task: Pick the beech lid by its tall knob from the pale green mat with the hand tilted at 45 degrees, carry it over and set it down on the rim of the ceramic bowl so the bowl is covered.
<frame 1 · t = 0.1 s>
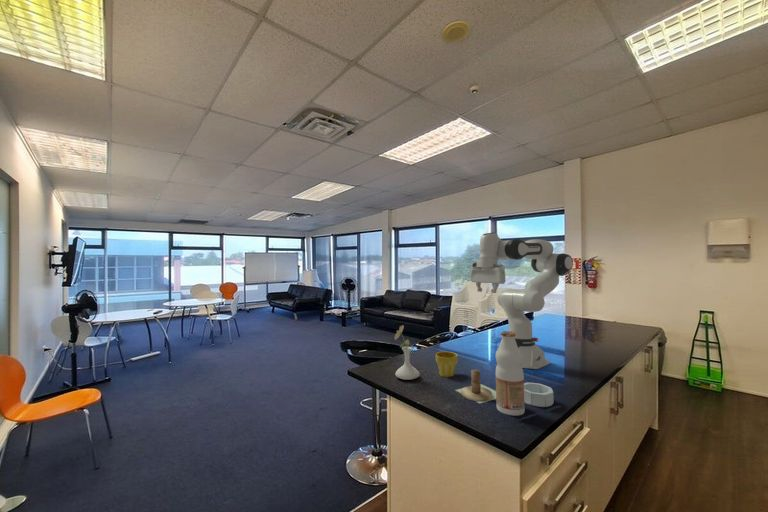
hand: (486, 292, 151), 39 cm above the worktop, tool pointing down, fingers open, 8 cm apart
mat: (480, 394, 123), on the worktop
fruit juice: (510, 411, 109), on the worktop
plant pot: (447, 375, 146), on the worktop
flower in vase: (406, 378, 143), on the worktop
lid: (476, 394, 122), point 1 cm above the worktop, touching mat
bowl: (536, 401, 116), on the worktop
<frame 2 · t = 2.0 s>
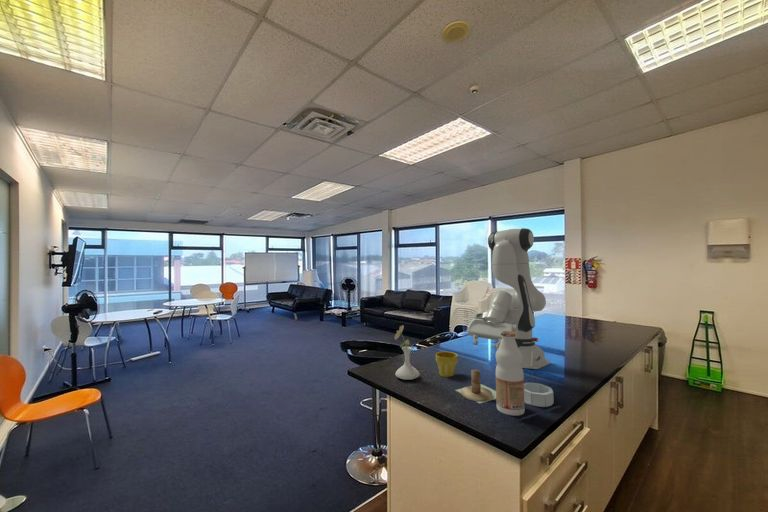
hand: (485, 346, 131), 17 cm above the worktop, tool tilted 45°, fingers open, 8 cm apart
nothing on the worktop moved.
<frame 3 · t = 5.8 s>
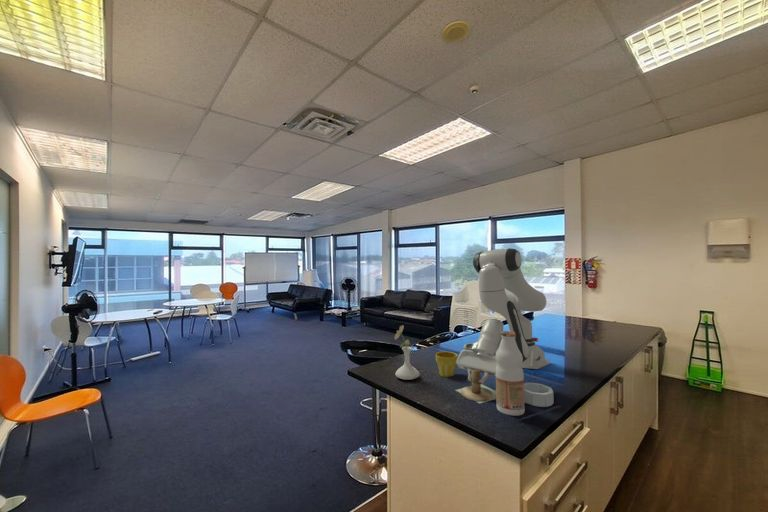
hand: (475, 381, 122), 6 cm above the worktop, tool tilted 45°, fingers closed on lid, 3 cm apart
lid: (476, 394, 122), point 1 cm above the worktop, touching gripper, mat
everything else where it was.
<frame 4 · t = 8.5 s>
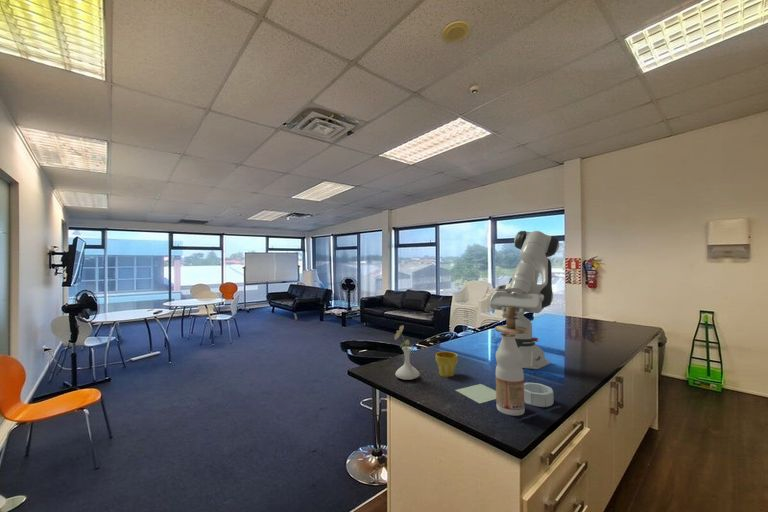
hand: (510, 317, 123), 31 cm above the worktop, tool tilted 45°, fingers closed on lid, 3 cm apart
lid: (511, 330, 123), point 26 cm above the worktop, touching gripper
everything else where it was.
when the fingers open (12 cm above the worktop, at t = 11.4 s): lid drops 2 cm, resting on bowl.
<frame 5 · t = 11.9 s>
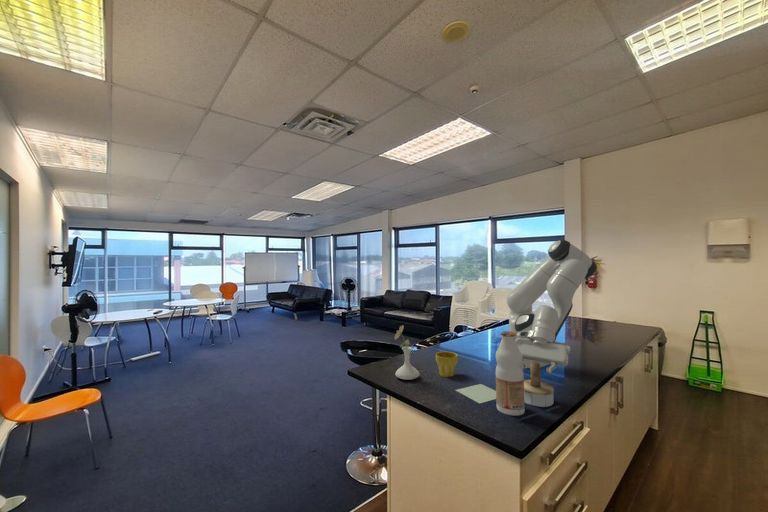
hand: (534, 370, 116), 12 cm above the worktop, tool tilted 45°, fingers open, 8 cm apart
lid: (535, 388, 116), point 5 cm above the worktop, touching bowl
everything else where it was.
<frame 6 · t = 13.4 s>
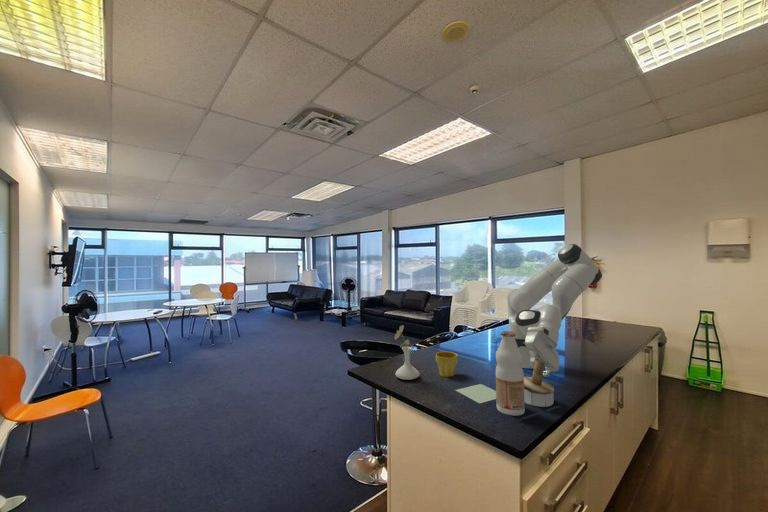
hand: (539, 369, 120), 11 cm above the worktop, tool tilted 45°, fingers open, 8 cm apart
lid: (536, 385, 116), point 6 cm above the worktop, tilted 10°, touching bowl
everything else where it was.
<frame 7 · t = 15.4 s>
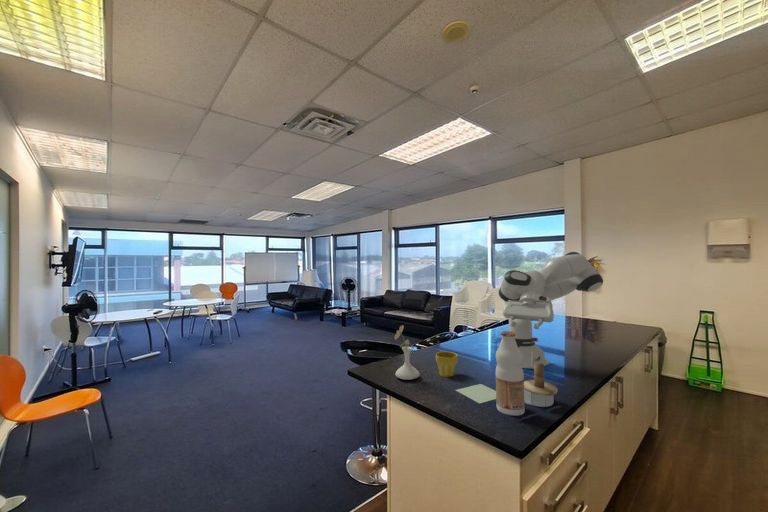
hand: (524, 327, 130), 26 cm above the worktop, tool tilted 45°, fingers open, 8 cm apart
lid: (539, 388, 116), point 5 cm above the worktop, touching bowl
everything else where it was.
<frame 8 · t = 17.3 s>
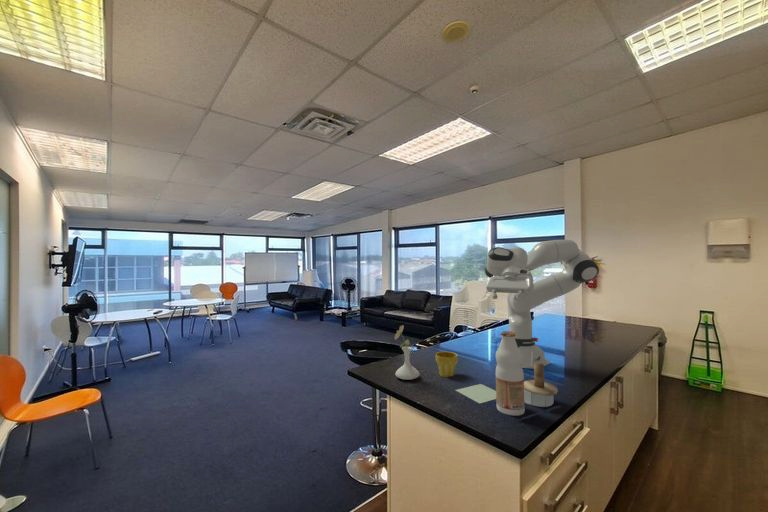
hand: (504, 298, 134), 37 cm above the worktop, tool tilted 45°, fingers open, 8 cm apart
nothing on the worktop moved.
at the end: lid 1.2 cm from the bowl (horizontally); lid point 5.0 cm above the worktop; lid tilted 0° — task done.
